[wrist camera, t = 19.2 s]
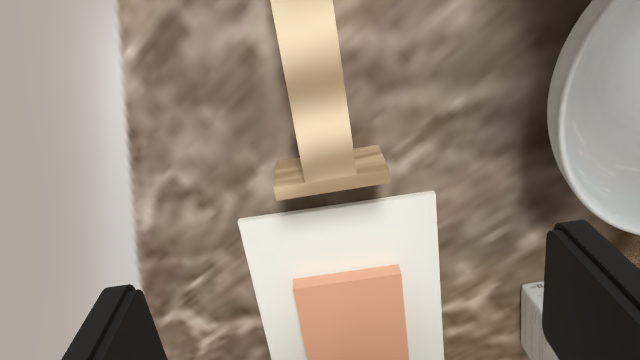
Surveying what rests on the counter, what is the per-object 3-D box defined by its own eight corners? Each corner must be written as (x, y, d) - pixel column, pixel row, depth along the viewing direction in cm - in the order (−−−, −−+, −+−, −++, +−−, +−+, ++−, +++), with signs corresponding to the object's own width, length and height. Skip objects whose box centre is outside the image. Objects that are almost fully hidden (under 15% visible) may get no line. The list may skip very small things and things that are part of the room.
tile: (292, 289, 40) (311, 378, 44) (401, 273, 40) (409, 364, 44) (293, 277, 42) (310, 364, 46) (397, 262, 42) (406, 351, 46)
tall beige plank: (235, -33, 32) (225, -32, 28) (355, -54, 32) (364, -56, 28) (279, 172, 39) (276, 201, 34) (379, 156, 38) (390, 182, 34)
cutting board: (238, 218, 40) (238, 222, 39) (433, 190, 40) (435, 193, 39) (278, 379, 47) (277, 384, 47) (442, 357, 47) (444, 362, 46)
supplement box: (596, 333, 46) (693, 456, 35) (518, 344, 47) (589, 470, 35) (603, 269, 43) (712, 381, 32) (520, 281, 44) (598, 396, 32)
